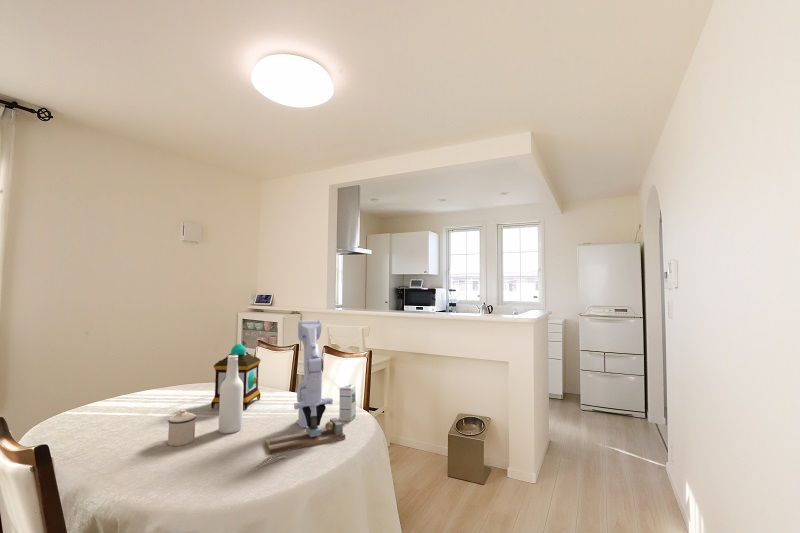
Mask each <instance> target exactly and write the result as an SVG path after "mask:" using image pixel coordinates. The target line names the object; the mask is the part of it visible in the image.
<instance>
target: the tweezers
mask: <svg viewBox="0 0 800 533" xmlns="http://www.w3.org/2000/svg"><path fill="white" fill-rule="evenodd" d="M286 457H287V458H288V455H287V454H285V455H282V453H279V452H277V453H273V454H272V455H270V456H268V457H267V458H265V459H264V460H263V461H261V462H260V463H258V464H257V465H255V466H254V467H253V468H254V469H255V470H257V469H256V468H258V469H260V468H262V467H265V466H268V465H269V463H270V464H272V462H273V463H275V462H278V461H280V460H284V459H286ZM272 458H273V459H272ZM270 459H271V460H270ZM268 460H269V461H268ZM266 461H267V462H266ZM264 462H265V463H264ZM262 463H263V464H262ZM259 465H260V466H259ZM264 465H265V466H264ZM257 466H258V467H257ZM255 467H256V468H255ZM259 467H260V468H259ZM253 468H252V470H253V471H254V469H253Z"/></svg>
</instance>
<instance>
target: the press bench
mask: <svg viewBox="0 0 800 533" xmlns="http://www.w3.org/2000/svg"><path fill="white" fill-rule="evenodd" d="M320 429H321V428H320ZM342 440H346V434H345V433H344V426H343V423H342V421H341V420H340V419H338V418H337V417H333V418H330V419H329V421H327V422H326V423H325V425H324V428H322V429H321V435H319V436H314V437H310V436H309V435H308V433H307V432H306V431H305V432H300V433H294V434H289V435H283V436H277V437H272V438H266V439H264V445H265V447H266V450H267V451H268V453H269V455H271V454H272V455H273V454H275V453H282V452H287V451H291V450H297V449H301V448H307V447H312V446H317V445H322V444H327V443H332V441H333V442H337V441H338V442H339V441H342Z"/></svg>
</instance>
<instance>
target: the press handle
mask: <svg viewBox="0 0 800 533" xmlns="http://www.w3.org/2000/svg"><path fill="white" fill-rule="evenodd" d="M310 424H311V425H310V427H308V426H306V427H305V432H307V433H308V435H309V436H310V437H314V436H319V435H321V428H320V426H318V425H317V416H311V417H310Z"/></svg>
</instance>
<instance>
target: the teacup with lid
mask: <svg viewBox="0 0 800 533" xmlns="http://www.w3.org/2000/svg"><path fill="white" fill-rule="evenodd" d="M196 419H197V416H196V414H195V413H192V412H189V411H187V410H186V409H180V410H179V412H178V413H176V414H174V415H172V416H170V417H169V418H168V435H167V436H168V438H167V439H168V440H167V443H168V446H171V447H181V446H185V445H188V444H190V443H192V442H193V441H194V440H195V434H196V432H195V431H196Z"/></svg>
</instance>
